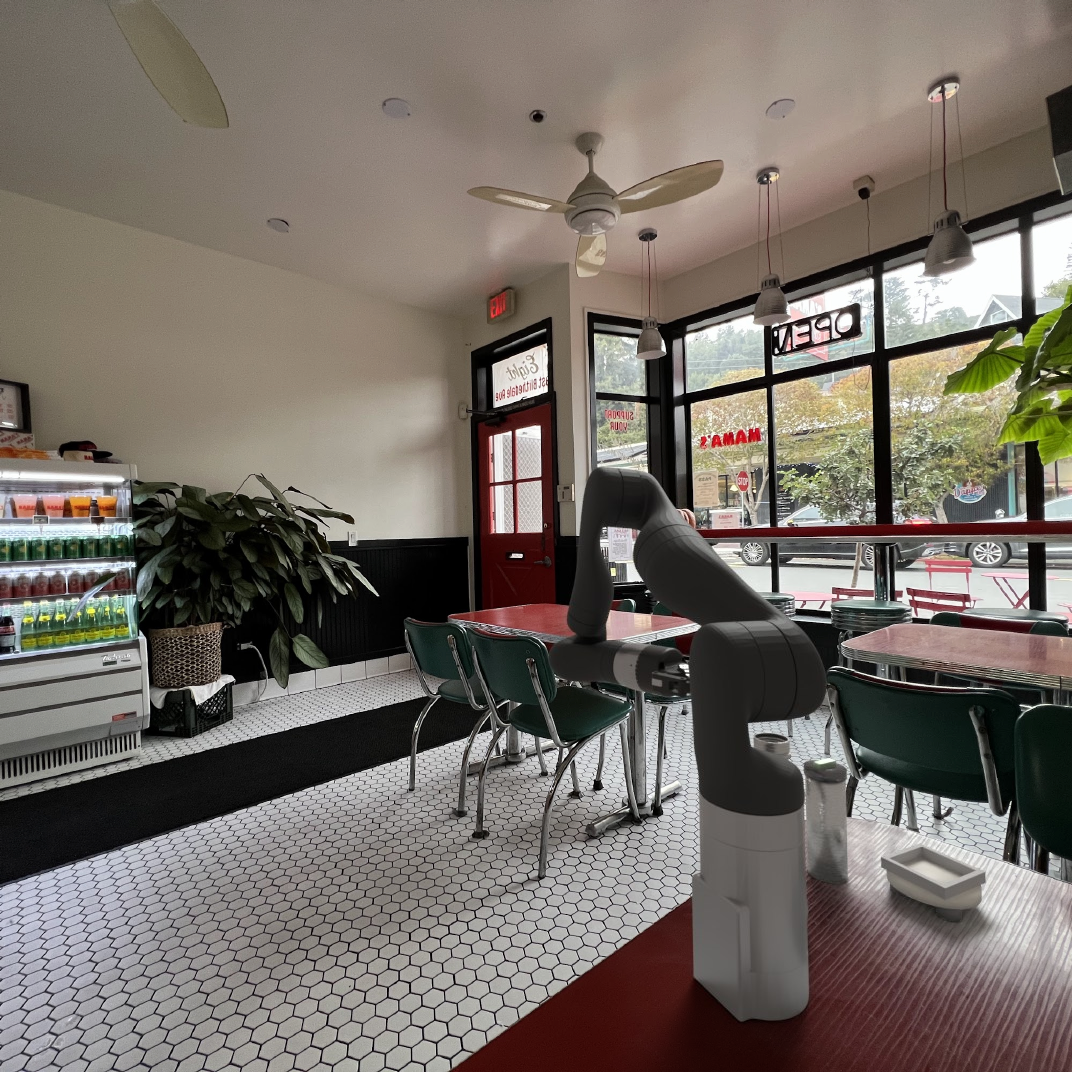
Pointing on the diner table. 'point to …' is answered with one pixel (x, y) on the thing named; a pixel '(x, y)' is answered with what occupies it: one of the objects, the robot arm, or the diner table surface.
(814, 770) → the grey bottle with lid
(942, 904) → the rectangular footed bonsai pot
